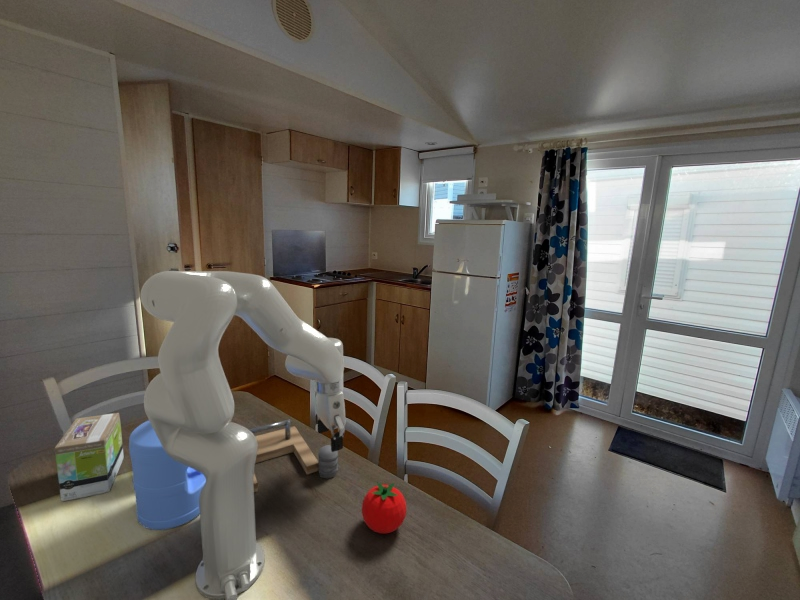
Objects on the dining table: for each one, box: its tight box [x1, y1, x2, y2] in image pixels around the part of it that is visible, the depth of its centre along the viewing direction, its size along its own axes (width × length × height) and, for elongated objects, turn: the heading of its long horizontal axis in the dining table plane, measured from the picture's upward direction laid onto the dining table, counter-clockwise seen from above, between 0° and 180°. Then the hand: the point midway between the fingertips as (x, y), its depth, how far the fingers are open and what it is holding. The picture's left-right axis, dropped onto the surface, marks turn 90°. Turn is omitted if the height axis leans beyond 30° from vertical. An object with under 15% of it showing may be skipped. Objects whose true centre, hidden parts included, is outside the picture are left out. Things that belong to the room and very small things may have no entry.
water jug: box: [128, 419, 206, 531], centre depth 87 cm, size 16×16×28 cm
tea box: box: [54, 412, 125, 502], centre depth 96 cm, size 15×10×15 cm, turn 25°
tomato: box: [361, 481, 407, 534], centre depth 86 cm, size 10×10×10 cm
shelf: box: [253, 425, 319, 493], centre depth 108 cm, size 22×20×2 cm
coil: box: [317, 444, 339, 479], centre depth 103 cm, size 5×5×7 cm
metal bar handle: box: [248, 418, 292, 440], centre depth 110 cm, size 3×14×6 cm, turn 123°
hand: (329, 440), depth 103 cm, fingers open, 9 cm apart
